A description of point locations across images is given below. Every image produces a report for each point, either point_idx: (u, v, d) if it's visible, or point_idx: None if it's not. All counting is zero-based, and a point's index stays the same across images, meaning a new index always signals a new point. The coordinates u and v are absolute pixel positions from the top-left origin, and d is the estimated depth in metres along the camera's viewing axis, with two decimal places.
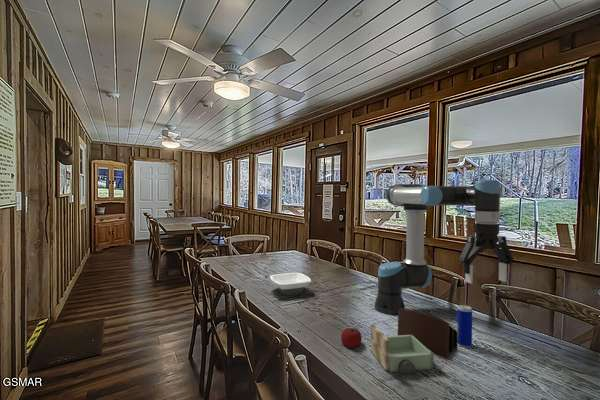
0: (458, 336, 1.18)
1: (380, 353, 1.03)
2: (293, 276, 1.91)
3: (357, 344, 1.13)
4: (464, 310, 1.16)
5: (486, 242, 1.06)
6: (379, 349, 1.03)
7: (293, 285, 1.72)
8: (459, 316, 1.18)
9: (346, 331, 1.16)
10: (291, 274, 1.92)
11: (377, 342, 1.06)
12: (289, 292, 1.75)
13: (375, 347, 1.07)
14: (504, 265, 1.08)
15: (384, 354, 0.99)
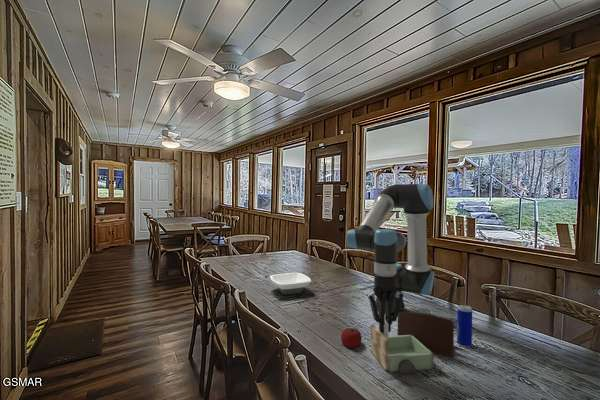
0: (458, 336, 1.18)
1: (380, 353, 1.03)
2: (293, 276, 1.91)
3: (357, 344, 1.13)
4: (464, 310, 1.16)
5: (383, 295, 1.02)
6: (379, 349, 1.03)
7: (293, 285, 1.72)
8: (459, 316, 1.18)
9: (346, 331, 1.16)
10: (291, 274, 1.92)
11: (376, 342, 1.06)
12: (289, 292, 1.75)
13: (375, 347, 1.07)
14: (386, 325, 1.04)
15: (384, 354, 0.99)
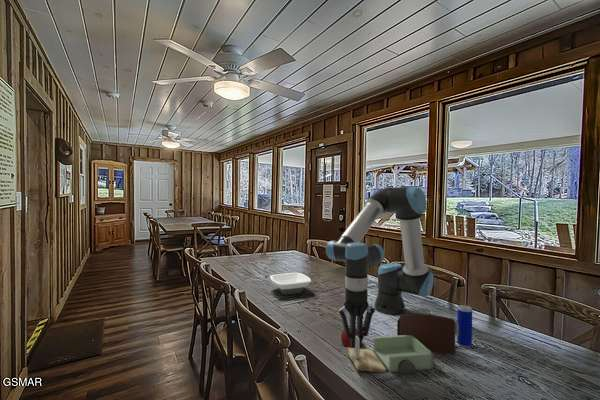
0: (458, 336, 1.18)
1: None
2: (293, 276, 1.91)
3: None
4: (464, 310, 1.16)
5: (354, 310, 1.01)
6: None
7: (293, 285, 1.72)
8: (459, 316, 1.18)
9: None
10: (291, 274, 1.92)
11: None
12: (289, 292, 1.75)
13: None
14: (357, 340, 1.02)
15: None
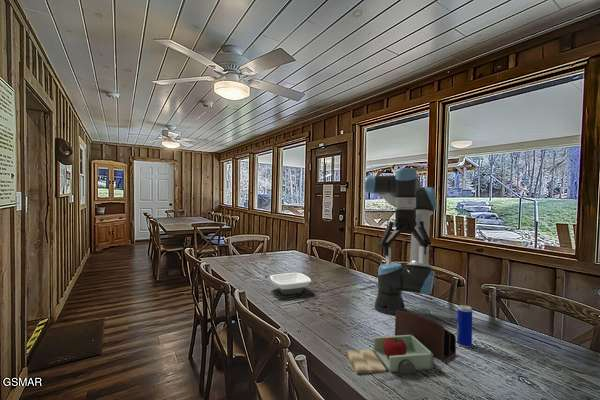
0: (458, 336, 1.18)
1: None
2: (293, 276, 1.91)
3: None
4: (464, 310, 1.16)
5: (403, 226, 1.13)
6: None
7: (293, 285, 1.72)
8: (459, 316, 1.18)
9: (390, 341, 1.05)
10: (291, 274, 1.92)
11: None
12: (289, 292, 1.75)
13: None
14: (422, 248, 1.15)
15: None
